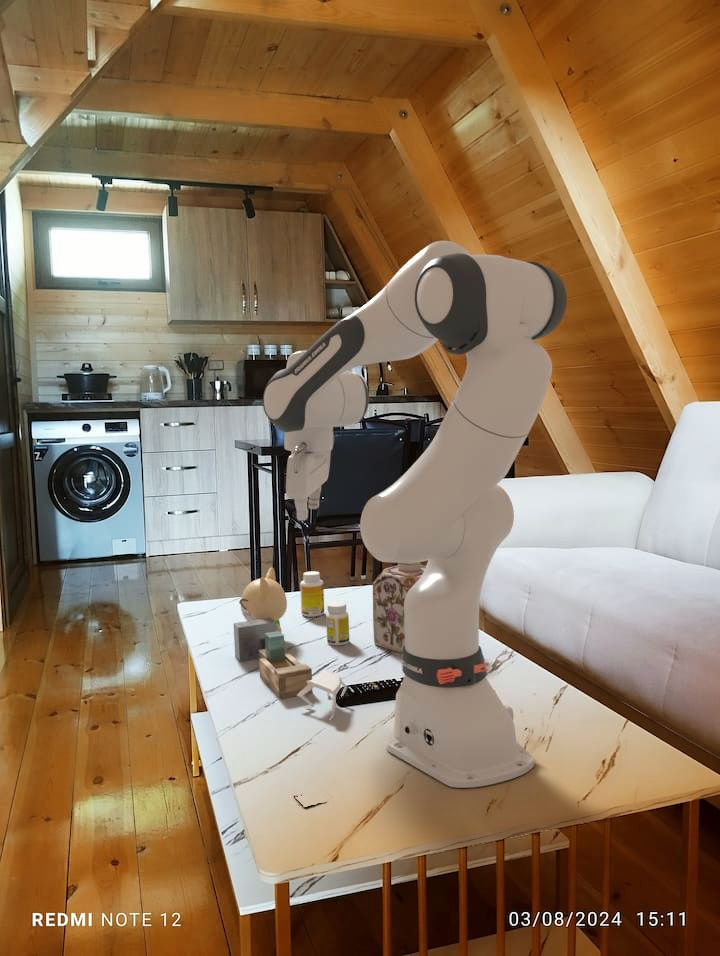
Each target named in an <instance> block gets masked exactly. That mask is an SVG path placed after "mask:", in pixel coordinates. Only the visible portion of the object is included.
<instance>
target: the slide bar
mask: <svg viewBox="0 0 720 956" xmlns="http://www.w3.org/2000/svg"><path fill="white" fill-rule="evenodd" d="M285 650H286V649H285V635H284V634H283V633H282V632H279V631H276V632H270V633H265V649H262V650H258V655H259V659H261V658H266V659H267V660H268V661H269V662H270V663H271V664H272V665H273V666H274V667H275V668H276V669H279V668H284V667H290V666H293V665H292V664H290V663H289V662H288V661H287V660H286V659H285V654H286V653H285ZM259 659H258V660H259Z"/></svg>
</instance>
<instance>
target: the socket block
mask: <svg viewBox="0 0 720 956" xmlns="http://www.w3.org/2000/svg"><path fill="white" fill-rule="evenodd" d="M276 631H277V622H276V621H275V620H274V619H272V618H265V619H258V620H252V621H247V620H245V621H239V622H233V639H234V643H233V644H234V657H235V659H237V660H238V662H245V661H252V660H257V659H258V658H259V655H258V650H262V649H265V633H270V632H276ZM258 660H259V659H258Z"/></svg>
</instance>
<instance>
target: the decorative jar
mask: <svg viewBox="0 0 720 956" xmlns="http://www.w3.org/2000/svg"><path fill="white" fill-rule="evenodd" d="M426 566H427V565H423V564H422V562H417V563H411V564H407V563H397V565H394V566H390V567H387V568H384V569H383V570H381V571H382V572H380V574H379V575H378V576H376V579H375V580H374V581H373V583H372V624H373V628H372V630H373V641H374V643H373V644H374V645H375V646H378V647H381V648H385V649H388V650H389V651H394V652H397V653H400V654H402V649H403V647H404V645H405V626H404V601H405V597H406V595H407V593H408V591H409V590H410V588H411V587H412V586H413V585H414V584H415V583H416V582H417V581H418V580H419V579H420V577H421V576H422V574H423V572H424V570H425V568H426Z"/></svg>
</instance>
